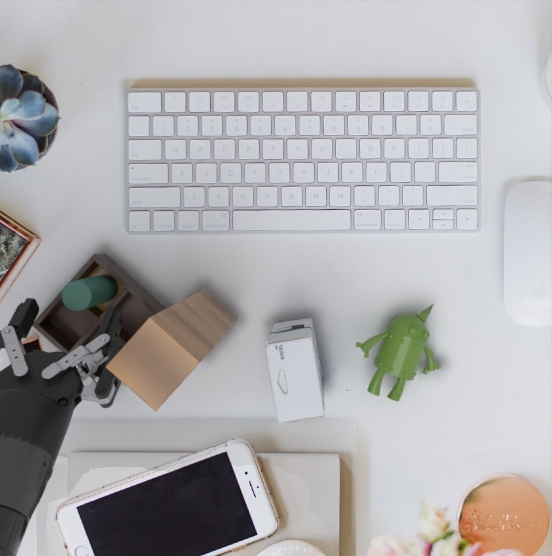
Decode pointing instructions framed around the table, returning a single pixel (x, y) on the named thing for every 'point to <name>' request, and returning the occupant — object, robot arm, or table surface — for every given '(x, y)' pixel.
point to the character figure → (400, 351)
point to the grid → (97, 310)
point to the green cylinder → (89, 292)
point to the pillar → (170, 347)
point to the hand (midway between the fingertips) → (74, 306)
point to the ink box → (295, 371)
